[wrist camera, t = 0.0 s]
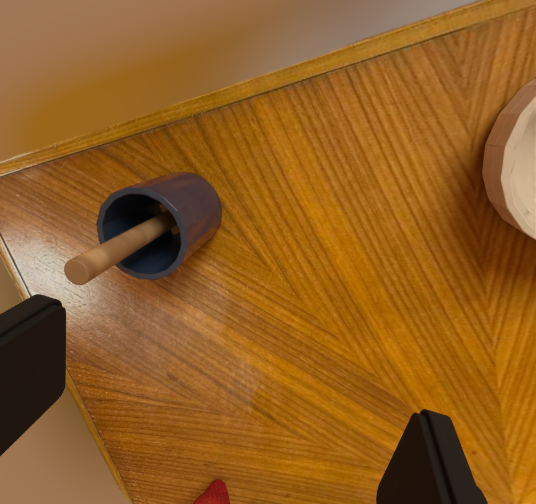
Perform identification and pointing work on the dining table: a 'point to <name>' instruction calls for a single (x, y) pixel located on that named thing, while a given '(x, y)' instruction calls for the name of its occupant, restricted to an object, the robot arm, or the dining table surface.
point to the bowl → (514, 162)
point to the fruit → (214, 494)
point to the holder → (147, 206)
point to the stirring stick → (119, 248)
